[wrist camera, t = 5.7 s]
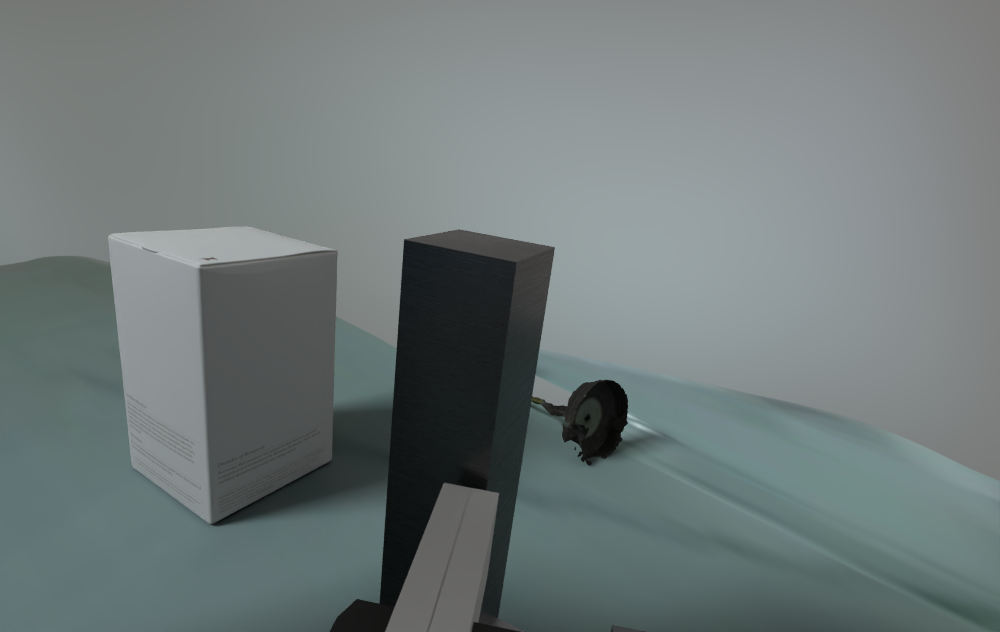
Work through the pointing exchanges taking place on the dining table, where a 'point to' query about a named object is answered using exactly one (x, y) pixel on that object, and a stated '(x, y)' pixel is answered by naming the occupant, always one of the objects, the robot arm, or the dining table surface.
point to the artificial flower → (593, 417)
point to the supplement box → (225, 360)
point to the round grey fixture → (462, 388)
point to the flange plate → (623, 629)
